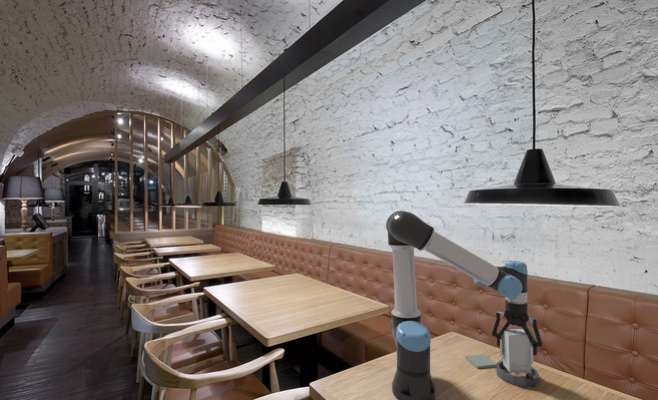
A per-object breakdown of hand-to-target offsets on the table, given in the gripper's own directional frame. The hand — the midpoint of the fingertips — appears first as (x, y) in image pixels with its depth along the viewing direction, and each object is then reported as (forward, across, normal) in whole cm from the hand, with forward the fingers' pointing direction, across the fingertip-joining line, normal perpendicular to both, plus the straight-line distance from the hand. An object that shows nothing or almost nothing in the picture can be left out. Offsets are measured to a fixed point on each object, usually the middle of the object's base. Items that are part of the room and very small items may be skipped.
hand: (516, 358), depth 124 cm
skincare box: (+4, 0, 0) cm, 4 cm away
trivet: (+7, -14, +4) cm, 16 cm away
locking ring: (+7, 0, 0) cm, 7 cm away
